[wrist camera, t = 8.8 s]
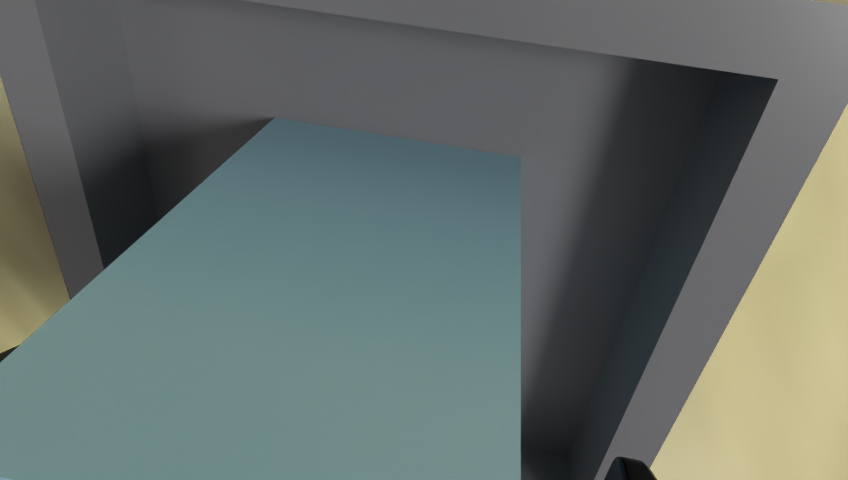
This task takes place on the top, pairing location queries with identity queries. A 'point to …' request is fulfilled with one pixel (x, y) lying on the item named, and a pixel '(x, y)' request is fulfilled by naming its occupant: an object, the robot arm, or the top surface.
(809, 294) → the top surface
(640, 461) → the robot arm
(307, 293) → the light blue block
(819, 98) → the tray
